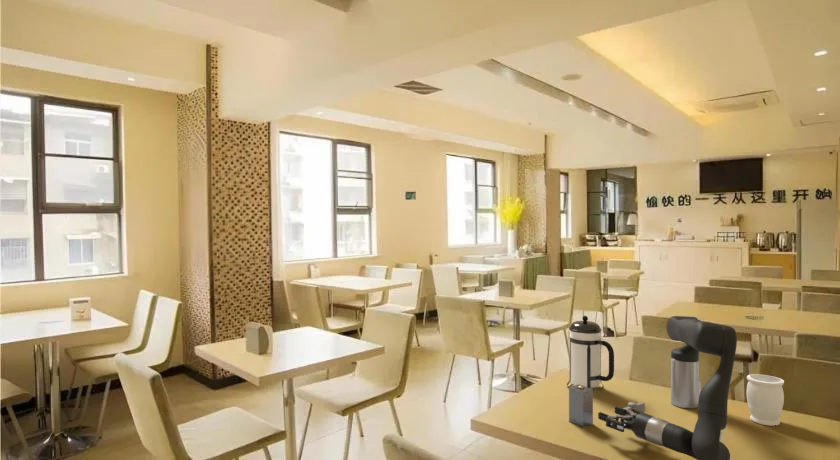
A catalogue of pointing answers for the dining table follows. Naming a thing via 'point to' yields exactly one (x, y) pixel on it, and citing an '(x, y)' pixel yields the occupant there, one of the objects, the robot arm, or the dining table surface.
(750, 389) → the jar
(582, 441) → the dining table surface
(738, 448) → the dining table surface
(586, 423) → the block
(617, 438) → the dining table surface
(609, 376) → the coffee press
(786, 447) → the dining table surface
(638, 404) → the dock
